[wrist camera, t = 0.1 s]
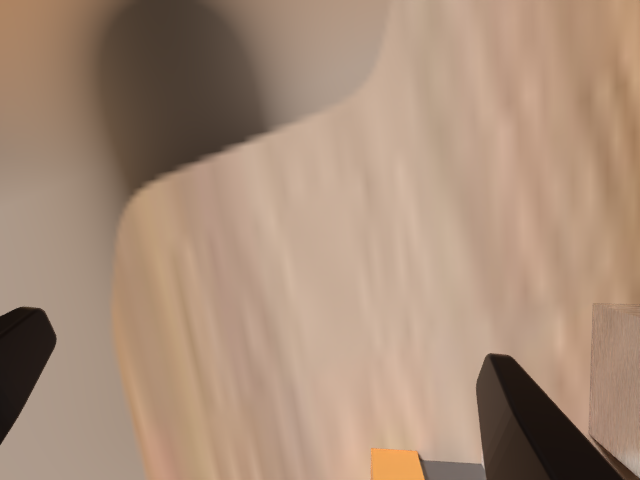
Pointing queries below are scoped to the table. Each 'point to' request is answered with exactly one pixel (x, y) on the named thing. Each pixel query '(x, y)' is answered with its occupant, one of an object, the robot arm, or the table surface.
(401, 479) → the plug
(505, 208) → the table surface
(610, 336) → the housing
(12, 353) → the robot arm
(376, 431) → the table surface
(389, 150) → the table surface
